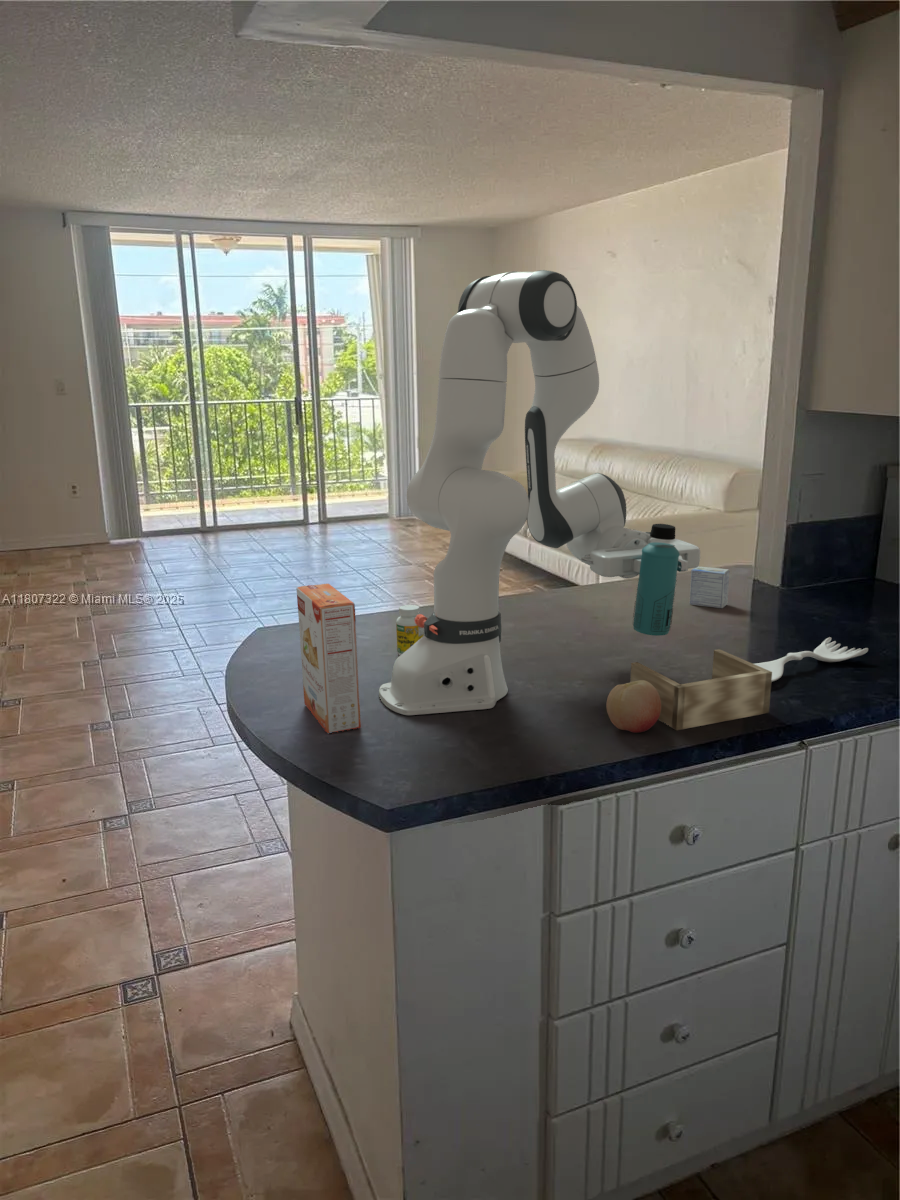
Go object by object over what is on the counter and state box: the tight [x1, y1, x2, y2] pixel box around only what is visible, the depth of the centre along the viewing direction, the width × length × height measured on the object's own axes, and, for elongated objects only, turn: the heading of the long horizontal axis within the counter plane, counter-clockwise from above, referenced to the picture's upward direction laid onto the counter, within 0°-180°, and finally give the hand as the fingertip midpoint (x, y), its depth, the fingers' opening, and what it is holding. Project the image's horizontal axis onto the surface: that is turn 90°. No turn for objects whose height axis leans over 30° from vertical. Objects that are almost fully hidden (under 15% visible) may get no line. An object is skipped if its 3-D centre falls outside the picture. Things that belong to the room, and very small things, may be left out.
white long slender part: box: [754, 636, 869, 683], centre depth 162 cm, size 9×32×4 cm, turn 119°
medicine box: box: [689, 566, 730, 609], centre depth 207 cm, size 8×4×9 cm, turn 58°
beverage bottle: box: [632, 523, 680, 637], centre depth 149 cm, size 6×7×20 cm
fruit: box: [605, 680, 661, 734], centre depth 135 cm, size 8×8×8 cm
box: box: [630, 649, 772, 731], centre depth 144 cm, size 18×13×7 cm
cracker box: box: [296, 583, 362, 734], centre depth 140 cm, size 14×6×21 cm, turn 24°
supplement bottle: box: [395, 604, 424, 656], centre depth 173 cm, size 5×5×10 cm
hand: (672, 568), depth 148 cm, fingers open, 4 cm apart
